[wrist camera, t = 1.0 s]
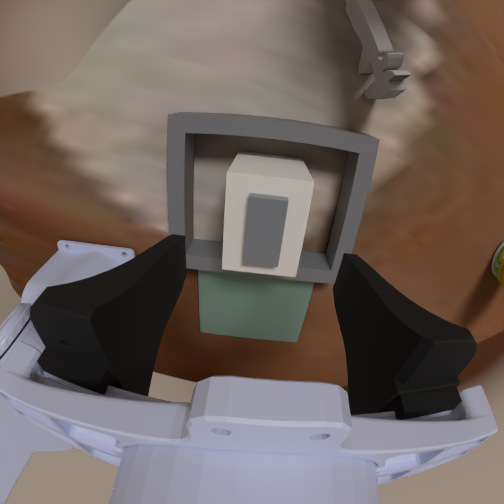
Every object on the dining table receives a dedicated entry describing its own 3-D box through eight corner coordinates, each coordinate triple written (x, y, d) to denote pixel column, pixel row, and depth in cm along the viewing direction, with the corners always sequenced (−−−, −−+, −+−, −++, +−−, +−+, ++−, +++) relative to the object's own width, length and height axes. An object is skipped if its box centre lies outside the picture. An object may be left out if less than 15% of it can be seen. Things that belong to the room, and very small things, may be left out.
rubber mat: (201, 327, 28) (200, 331, 28) (199, 264, 24) (198, 268, 24) (296, 337, 28) (296, 342, 28) (313, 277, 24) (314, 281, 24)
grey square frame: (180, 250, 23) (171, 266, 21) (179, 112, 18) (168, 114, 15) (335, 266, 23) (341, 284, 21) (367, 134, 17) (379, 139, 15)
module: (233, 226, 22) (220, 275, 16) (239, 151, 19) (225, 175, 13) (290, 232, 22) (296, 283, 16) (302, 158, 19) (316, 185, 13)
